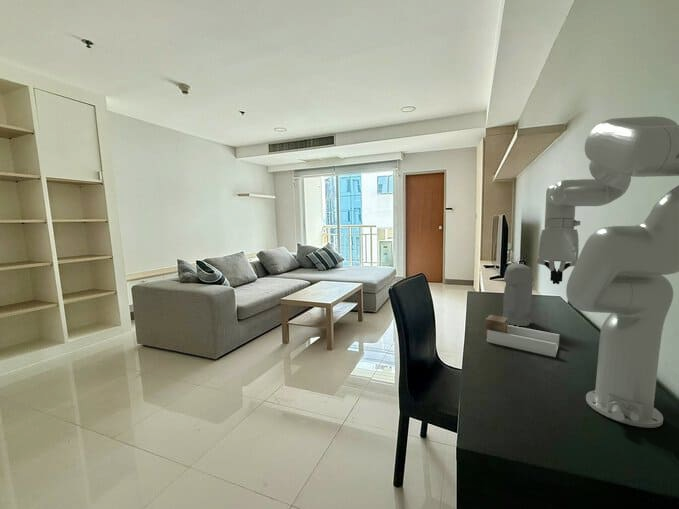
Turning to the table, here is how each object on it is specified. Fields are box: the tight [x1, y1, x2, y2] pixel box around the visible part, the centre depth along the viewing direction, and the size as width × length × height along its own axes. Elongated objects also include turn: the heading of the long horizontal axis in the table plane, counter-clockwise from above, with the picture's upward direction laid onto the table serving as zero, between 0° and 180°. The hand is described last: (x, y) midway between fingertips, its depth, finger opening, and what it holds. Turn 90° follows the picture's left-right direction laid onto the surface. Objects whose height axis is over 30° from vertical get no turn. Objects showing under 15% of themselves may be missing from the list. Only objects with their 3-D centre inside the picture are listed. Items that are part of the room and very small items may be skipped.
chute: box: [486, 324, 560, 358], centre depth 107 cm, size 20×12×4 cm, turn 51°
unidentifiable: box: [502, 263, 534, 327], centre depth 129 cm, size 15×10×25 cm
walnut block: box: [484, 314, 509, 337], centre depth 112 cm, size 6×7×6 cm
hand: (556, 283), depth 97 cm, fingers closed
